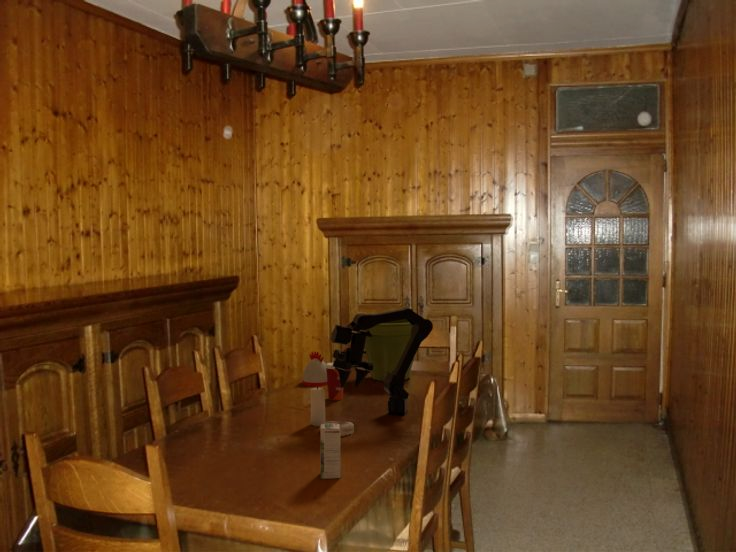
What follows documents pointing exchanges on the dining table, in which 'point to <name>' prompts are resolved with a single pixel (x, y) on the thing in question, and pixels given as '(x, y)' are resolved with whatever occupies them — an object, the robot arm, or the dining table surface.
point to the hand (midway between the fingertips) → (349, 387)
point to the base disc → (343, 427)
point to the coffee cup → (333, 383)
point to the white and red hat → (315, 371)
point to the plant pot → (387, 347)
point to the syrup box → (330, 451)
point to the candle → (317, 406)
